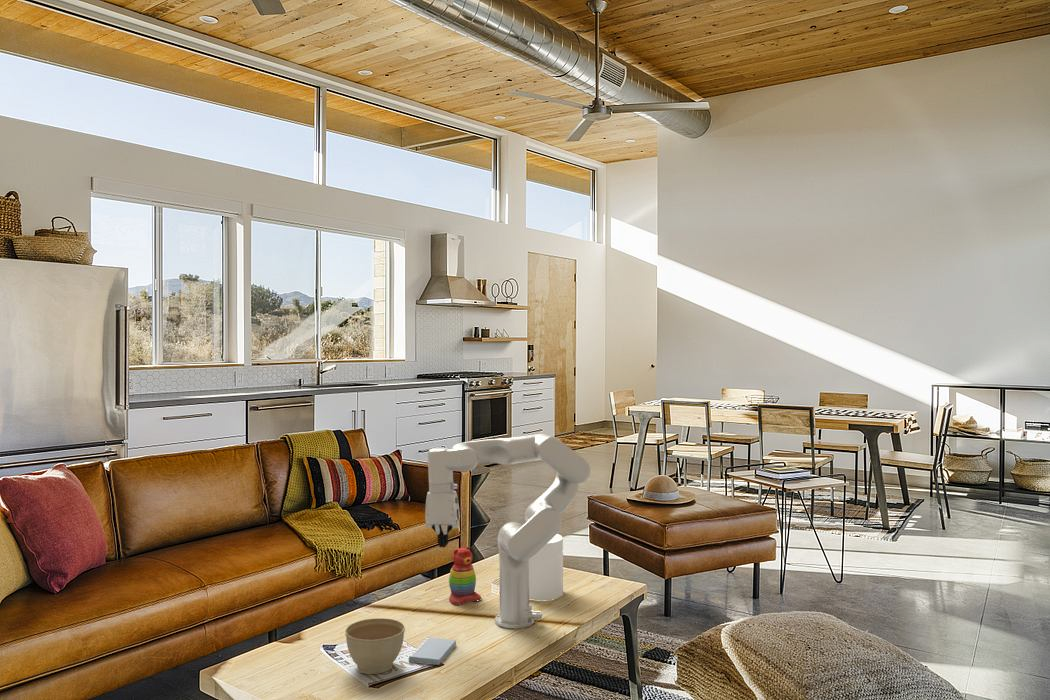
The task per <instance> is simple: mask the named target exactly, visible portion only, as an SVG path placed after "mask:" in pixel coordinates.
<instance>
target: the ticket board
mask: <svg viewBox="0 0 1050 700" xmlns="http://www.w3.org/2000/svg"><path fill="white" fill-rule="evenodd" d="M456 645H457V640H456V639H450V638H449V639H448V638H440V637H429V636H428V637H426V638H425V639H424V640H423V641H422V643H420V644H419V645H418V646H417V647H416V648H415V649H414V651H413V652H412V653H410V654H409V656H408V662H410V663H417V664H427V665H437V666H439V665H440V664H442V662H443V661H444V660H445V659H446V657H447V656H448V655H449V654H450V653H451V652H452V650H453V649H454V648H455V647H456Z"/></svg>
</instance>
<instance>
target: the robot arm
mask: <svg viewBox="0 0 1050 700" xmlns="http://www.w3.org/2000/svg"><path fill="white" fill-rule="evenodd" d="M536 461H542V462H544V463H545V464H547V465H548V466H549V467H550V468H551V469H552V470H554V471H555V477H554V480H553V483H552V484H551V485H550V487H549V488H547V489H546V491H544V492H543V493H541V495H540V496H539V497H538V498H536V499H535V501H533V502H532V503H531V504H530V505H528V506H527V508H526V510H525V513H524V520H525V523H524V524H521V523H519V522H517V521H510V522H506V523H505V524H504V525H502V526H501V528H500V529H499V532H498V535H497V549H498V557H499V560H498V561H499V562H498V563H499V613H498V614H497V615H496V616H495V617H494V623H495V624H496V625H498V626H499V627H501V628H505V629H522V628H527V627H529V626H531V625H533V624H534V622H535V620H538V621H539V620H540V621H542V620H543V613H541V611H540V610H533V606H532V605H530V600H529V558H531V557H532V556H534V555H535V554H536V553H537V552H538V551H539V550H540V549H541V548H543V547H544V546H545V545H546V544H547V543H548V542H549V541H550V540H551V539H552V538H553V537H554V536H555V535H556V534H558V533H559V531H561V527H562V523H563V519H562V517H563V516H562V513H563V512H564V511H565V510H566V509H567V508H568V507H569V506H570V505H571V504H572V502H573V501H574V500H575V498H576V496H577V494H578V490H579V485H580V484H583V483H585V482H586V481H587V480H588V478H589V477H590V476H591V475H590V474H591V467H590V464H589V462H588V461H587V460H586V459H585V458H584V457H582V455H580V454H579V453H577V451H575V450H573V449H572V448H570V447H569V446H568V445H567V444H565V443H564V442H562V441H561V440H560V439H559V438H557V437H555V436H553V435H551V434H548V433H534V434H528V435H526V434H525V435H521V436H512V437H504V438H494V439H480V440H471V441H464V442H459V443H456V444H455V445H453V446H452V447H451V448H449V447H440V446H439V447H433V448H431V449H429V450H428V452H427V464H428V465H427V466H428V467H427V469H428V491H427V494H426V499H425V510H424V511H425V513H424V514H425V515H424V516H425V517H424V518H425V519H424V520H425V527H426V528H428V529H432V530H433V531H434V532H435V534H436V535H437V544H438V545H439V546H438V547H439V548H444V549H445V548H446V547H447V546H448V545H449V541H450V540H449V533H450V532H451V531H452V530H454V529H458V528H459V527H460V519H461V514H460V505H459V499H458V498H459V497H458V493H457V491H456V490H455V489H458V487H459V486H458V483H455V482H454V473H453V472H455V471H456V472H468V471H469V472H471V471H472V470H474V469H475V468H476V467H477V465H478V464H483V463H484V464H485V463H492V464H493V463H494V464H500V465H504V466H505V465H507V466H508V465H510V466H511V465H517V464H522V463H530V462H536Z"/></svg>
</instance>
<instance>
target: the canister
mask: <svg viewBox="0 0 1050 700" xmlns="http://www.w3.org/2000/svg"><path fill="white" fill-rule="evenodd" d="M563 550H564V538H563V536H562V535H561V534H558V533H557V534H556V535H555V536H554V537H553V538H552V539H551V540H550V541H549V542H548V543H547V544H546V545H545V546H544V547H543V548H541V549H540V550H539V551H538V552H537V553H536V554H535V555H534V556H532V557H531V558H529V599H534V600H551V601H553V600H552V599H555V600H557V599H556V598H558V597H560V596H562V597H563V595H564V552H563ZM560 598H561V597H560Z"/></svg>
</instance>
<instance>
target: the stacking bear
mask: <svg viewBox="0 0 1050 700" xmlns="http://www.w3.org/2000/svg"><path fill="white" fill-rule="evenodd" d="M471 551H472V550H471V548H470V547H469V546H466V547H459V548H455V549H454V550H453V553H452V560H453V561H452V562H453V563H454V564H453V565H452V567H451V568H450V572H449V575H448V576H449V577H448V584H449V585H448V586H449V590H450V594H449V599H448V600H449V602H450V604H452V605H453V604H454V606H460V605H459V604H462V605H464V604H466V603H465V602H467V603H469V602H468V601H477V600H480V599H481V600H482V597H481V595H480V594H479V593H477V592H476V591H475V590H476V583H477V576H476V572H475V569H474V566H473V564H472V562H473V558H474V557H473V556H474V555H473V554H472V553H473V552H471ZM481 600H480V601H481ZM463 603H464V604H463Z"/></svg>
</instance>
